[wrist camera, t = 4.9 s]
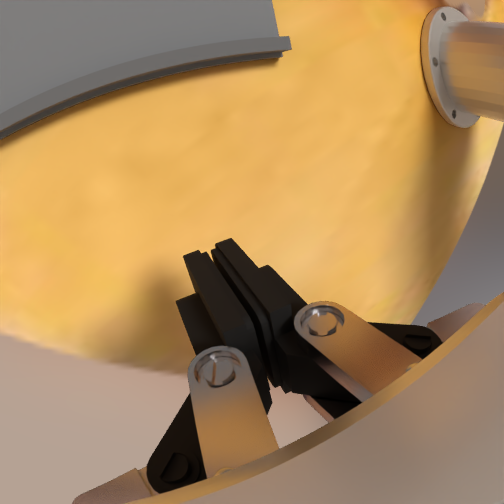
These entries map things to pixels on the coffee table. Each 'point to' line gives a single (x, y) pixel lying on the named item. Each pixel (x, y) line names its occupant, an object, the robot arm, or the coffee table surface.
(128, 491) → the robot arm
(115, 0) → the slate mat
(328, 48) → the coffee table surface
